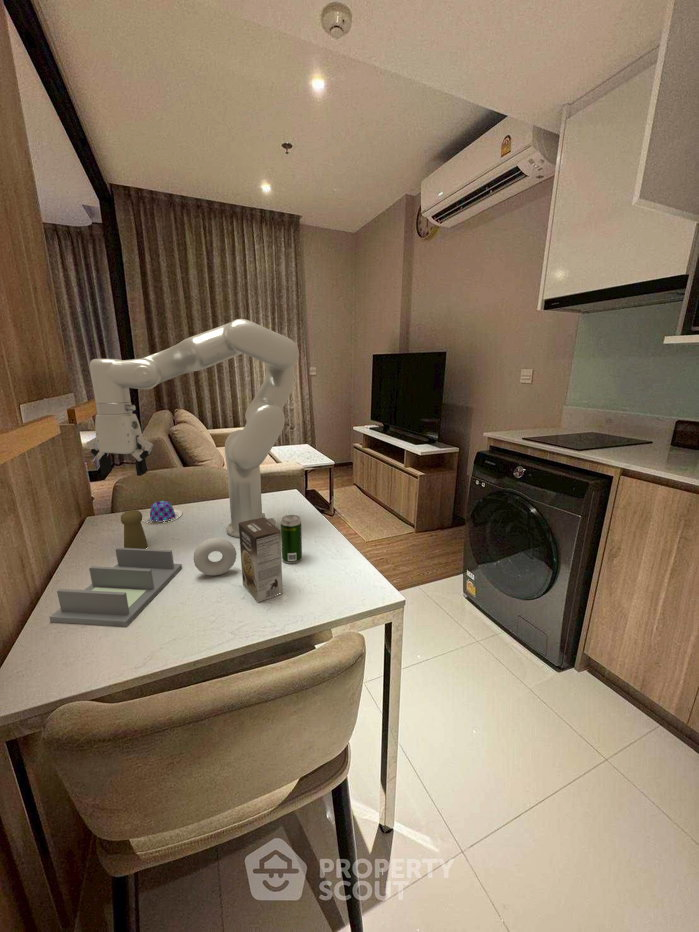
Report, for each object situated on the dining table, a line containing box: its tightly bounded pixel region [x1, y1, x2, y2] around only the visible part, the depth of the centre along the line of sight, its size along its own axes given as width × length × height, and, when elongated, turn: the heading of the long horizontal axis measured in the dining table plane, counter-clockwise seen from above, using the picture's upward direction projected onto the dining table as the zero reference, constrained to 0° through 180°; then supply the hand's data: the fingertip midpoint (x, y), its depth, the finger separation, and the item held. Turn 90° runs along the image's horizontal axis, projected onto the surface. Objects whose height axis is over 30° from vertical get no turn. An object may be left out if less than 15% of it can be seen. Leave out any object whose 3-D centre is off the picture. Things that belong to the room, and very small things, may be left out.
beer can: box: [280, 514, 303, 565], centre depth 99 cm, size 5×5×12 cm
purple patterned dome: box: [142, 500, 183, 524], centre depth 125 cm, size 12×12×5 cm
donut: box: [193, 537, 238, 576], centre depth 91 cm, size 10×4×10 cm, turn 109°
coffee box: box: [238, 517, 283, 603], centre depth 85 cm, size 9×6×16 cm
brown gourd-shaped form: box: [120, 509, 149, 549], centre depth 103 cm, size 6×6×11 cm
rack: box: [49, 547, 183, 628], centre depth 84 cm, size 16×22×6 cm
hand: (124, 473), depth 99 cm, fingers open, 9 cm apart
